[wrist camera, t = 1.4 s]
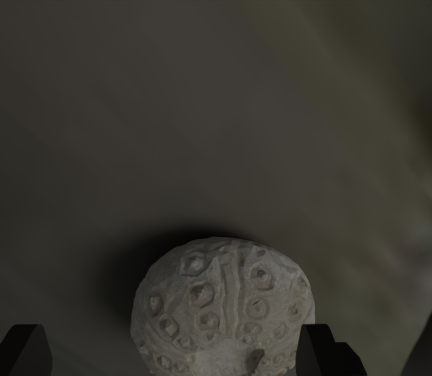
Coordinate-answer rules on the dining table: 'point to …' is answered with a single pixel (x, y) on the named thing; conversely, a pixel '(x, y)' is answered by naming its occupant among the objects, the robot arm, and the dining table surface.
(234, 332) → the decorative shell
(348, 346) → the robot arm
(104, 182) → the dining table surface
